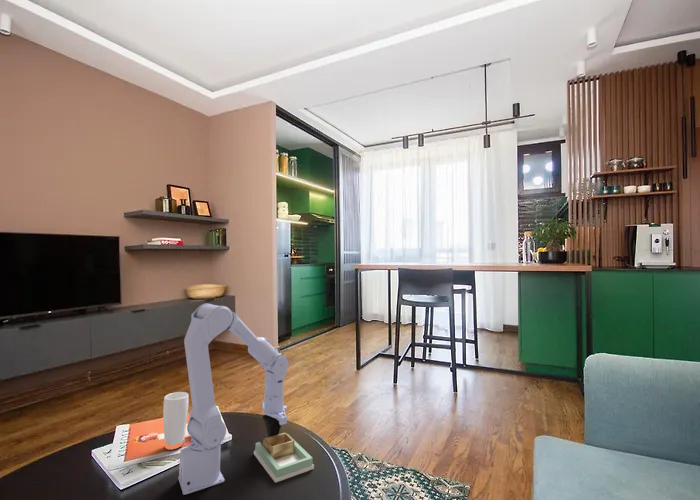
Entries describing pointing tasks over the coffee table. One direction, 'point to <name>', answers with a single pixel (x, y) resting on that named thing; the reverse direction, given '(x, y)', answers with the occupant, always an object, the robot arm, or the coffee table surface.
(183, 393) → the drinking glass
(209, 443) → the robot arm
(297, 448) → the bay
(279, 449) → the crate
